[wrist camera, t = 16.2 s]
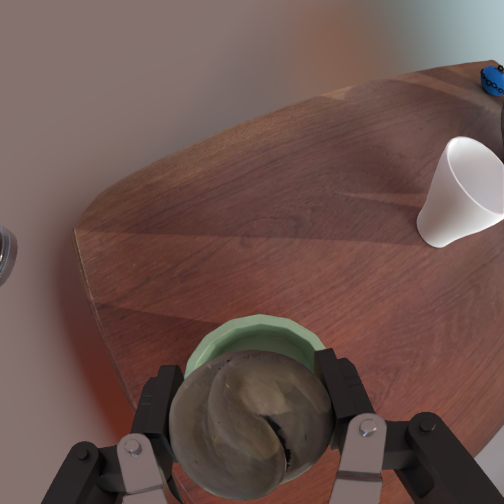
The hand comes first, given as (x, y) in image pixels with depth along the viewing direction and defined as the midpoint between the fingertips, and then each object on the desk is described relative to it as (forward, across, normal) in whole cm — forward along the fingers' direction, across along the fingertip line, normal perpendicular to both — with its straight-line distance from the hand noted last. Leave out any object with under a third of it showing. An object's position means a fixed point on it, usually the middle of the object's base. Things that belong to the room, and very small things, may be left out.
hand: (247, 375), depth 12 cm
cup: (+25, -26, +5) cm, 37 cm away
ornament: (+51, -68, -22) cm, 87 cm away
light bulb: (+6, 0, +9) cm, 11 cm away
